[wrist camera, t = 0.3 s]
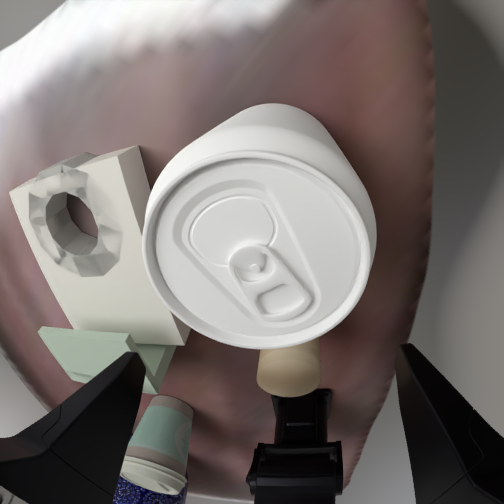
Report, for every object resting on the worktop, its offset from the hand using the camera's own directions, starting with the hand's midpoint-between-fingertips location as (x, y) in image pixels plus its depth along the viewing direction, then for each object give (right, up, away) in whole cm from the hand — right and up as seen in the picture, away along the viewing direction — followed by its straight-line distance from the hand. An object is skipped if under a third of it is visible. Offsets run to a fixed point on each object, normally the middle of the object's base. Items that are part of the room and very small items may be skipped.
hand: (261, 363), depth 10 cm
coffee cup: (-11, -17, +28) cm, 34 cm away
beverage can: (+1, +9, +10) cm, 14 cm away
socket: (-13, +4, +15) cm, 20 cm away
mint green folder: (-13, -2, +19) cm, 23 cm away
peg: (+3, 0, +15) cm, 16 cm away
